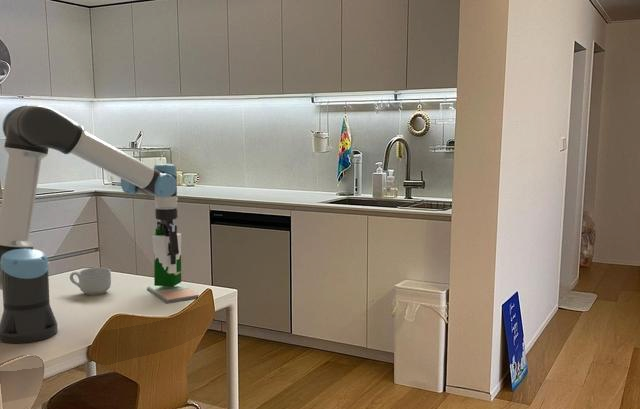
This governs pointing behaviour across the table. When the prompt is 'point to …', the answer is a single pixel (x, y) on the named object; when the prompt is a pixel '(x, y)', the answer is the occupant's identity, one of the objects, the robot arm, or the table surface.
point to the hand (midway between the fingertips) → (167, 270)
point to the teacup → (93, 280)
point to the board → (173, 293)
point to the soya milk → (165, 260)
